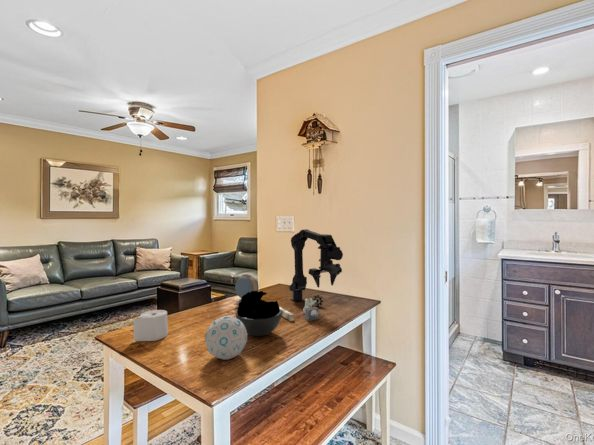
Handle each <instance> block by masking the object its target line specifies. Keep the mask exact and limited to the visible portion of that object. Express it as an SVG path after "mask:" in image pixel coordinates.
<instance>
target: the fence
mask: <svg viewBox="0 0 594 445" xmlns="http://www.w3.org/2000/svg"><path fill="white" fill-rule="evenodd" d="M279 309H281V311H282V316H281V317H283V318H284V319H286V320H287V321H289V322H293V321H295V314H294V313H292V312H290V311H288V310H287V309H286V308H283V307H281V306H279Z"/></svg>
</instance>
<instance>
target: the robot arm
mask: <svg viewBox="0 0 594 445" xmlns="http://www.w3.org/2000/svg"><path fill="white" fill-rule="evenodd" d="M308 239H309V240H313V241H315V242H316V243H317V244H318V245H319V246H318V247H317V249H318V250H320V256H319V259H318V262H319V264H320V266H319V267H318V268H316V267H313V268H309V269H308V275H310V276H312V278H313V279H314V282H315V285H316V287H317V288H320V279H321V274H322V273H328V274H329V278H330V280H329V281H330V286H334V284H335V281H336V278H337V276H339V275H340V274H341V273H343V269H342V267H341V264H340V263H333V262H334V261H333V260H335V261H341V259H342V258H343V256H344V254H343V250H342V249H341V247H340V246H337V243H336V242H335V240H334V237H333V235H332V234H325V233H318V232H315V231H312V230H309V229H301V230H299V232H297V233H296V234H294V235H292V236H291V238H290V243H291V248H292V249H293V252H294V275H293V277H292V282H291V284H290V285H289V286H288V288H289V291H290V292H292V298H290V300H291V301H292V302H295V303H298V302H304V301H305V299H304V298H303V291H305V290H306V287H307V284H308V282H307V281H308V278H307V276H305V274H304V259H303V254H304V253H303V252H304V249H305V247H306V241H308Z"/></svg>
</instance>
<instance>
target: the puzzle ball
mask: <svg viewBox="0 0 594 445" xmlns="http://www.w3.org/2000/svg"><path fill="white" fill-rule="evenodd" d="M247 341H248V333H247V330H246V328H245V326H244V325H243V323H242V322H241V321H240V320H239V319H237V318H236V316H232V315H231V316H230V315H225V316H221V317H218V318H216V319H215V320H214V321H212V322H211V324H210V325H209V326H208V327H207V330H206V333H205V341H204V342H205V346H206V349H207V351H208V353H209V354H210V355H212V357H215V358H217V359H220V360H224V361H229V360H231V359H233V358H235V357H237V356H238V355H240V354H241V353H242V352H243V351H244V349H245V347H246V344H247Z"/></svg>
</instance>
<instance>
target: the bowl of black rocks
mask: <svg viewBox="0 0 594 445" xmlns="http://www.w3.org/2000/svg"><path fill="white" fill-rule="evenodd" d="M267 294H268V292H265V291H263V290H260V291H259V290H258V291H257V290H256V291H251V292H248V293H246V295H243V296H242V299H241V298H240V299H241V302H240V303H239V305H238V307H237V311H236V312H235V318H237V319H239V320H240V321H241V322H242V323H243V325H244V326H245V328H246V330H247V335H249V336H253V337H263V336H267V335H269V334H271V333H272V332H273V331H274V330H275V329H276V328H277V327H278V325H279V324H280V321H281V320H282V317H283V316H282V311H281V309H279V307H280V305H279V303H278V300H275V301H272V300H271V301H266V300H264V299H262V298H263V296H265V295H267Z"/></svg>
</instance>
